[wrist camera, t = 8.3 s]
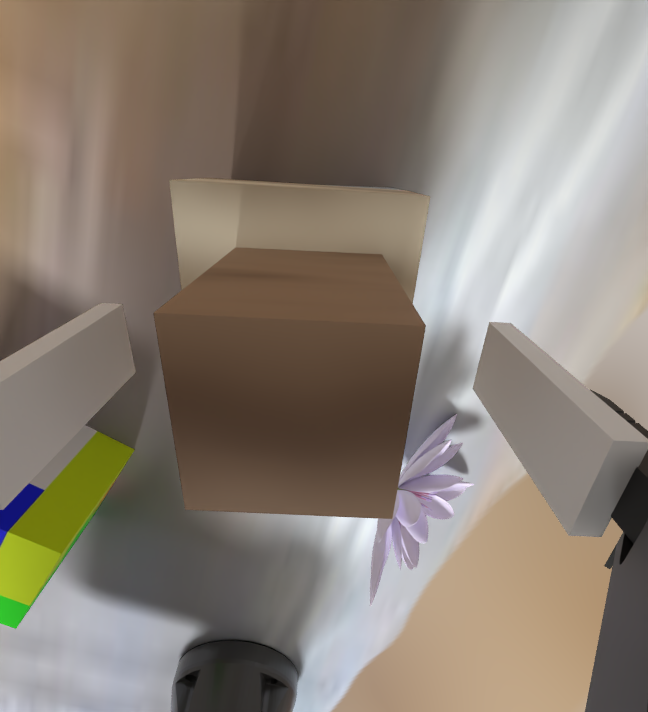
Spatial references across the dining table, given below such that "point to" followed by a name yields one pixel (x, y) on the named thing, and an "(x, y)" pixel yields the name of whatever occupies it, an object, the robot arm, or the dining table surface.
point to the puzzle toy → (53, 517)
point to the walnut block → (291, 383)
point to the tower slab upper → (296, 222)
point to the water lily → (417, 503)
